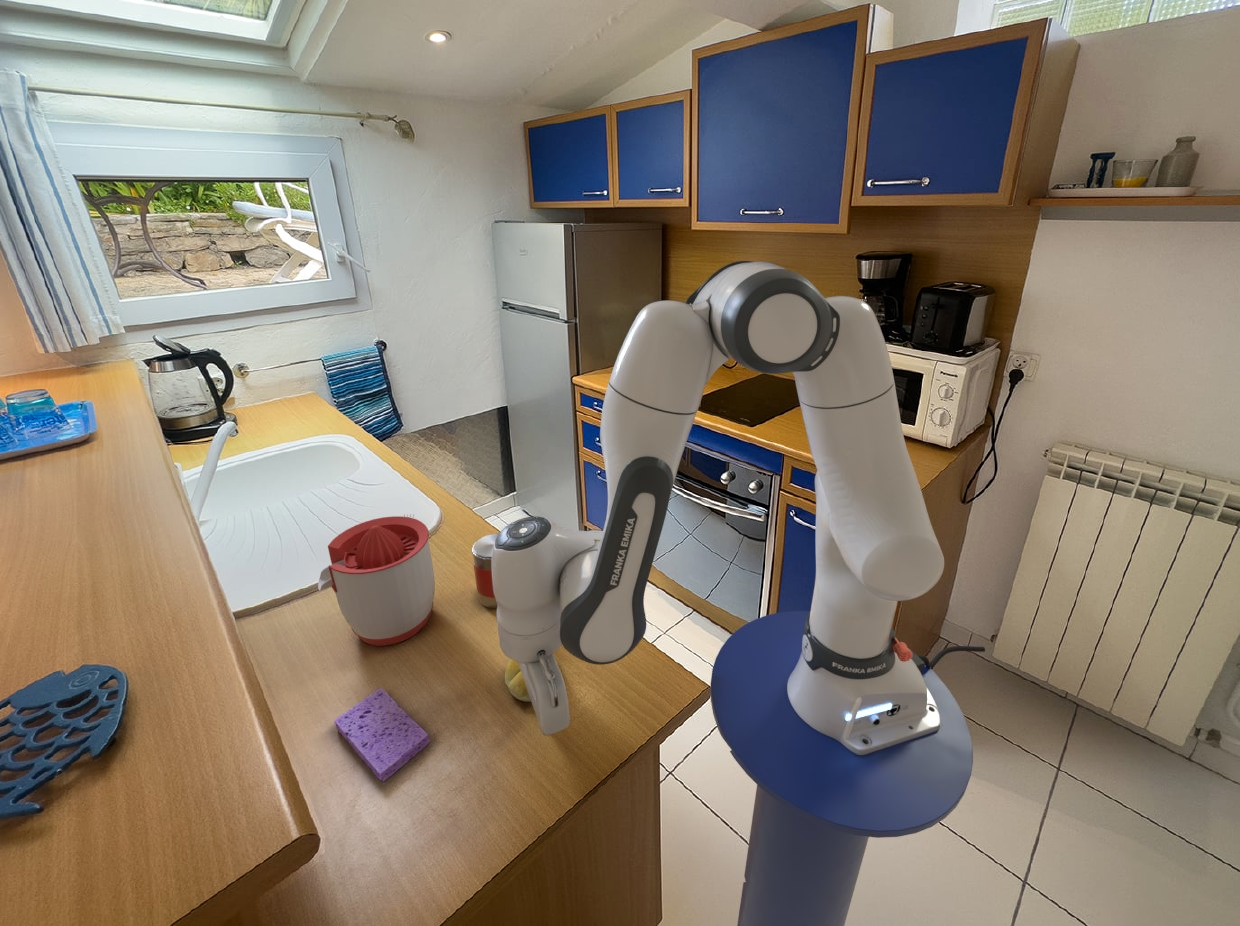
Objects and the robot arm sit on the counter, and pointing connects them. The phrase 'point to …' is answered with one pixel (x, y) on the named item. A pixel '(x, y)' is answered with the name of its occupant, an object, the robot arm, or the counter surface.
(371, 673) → the counter surface
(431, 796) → the counter surface
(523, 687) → the bread roll
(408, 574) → the citrus juicer
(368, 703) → the sponge
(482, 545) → the tin can
